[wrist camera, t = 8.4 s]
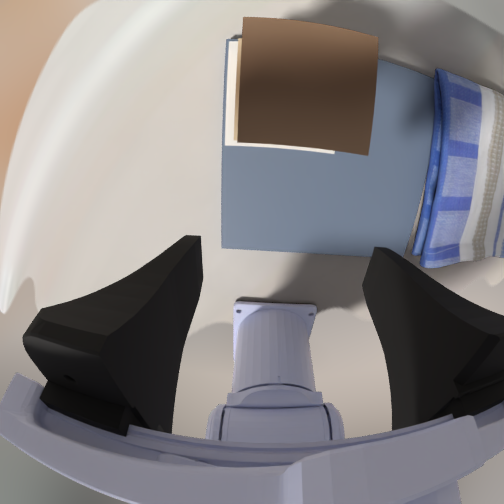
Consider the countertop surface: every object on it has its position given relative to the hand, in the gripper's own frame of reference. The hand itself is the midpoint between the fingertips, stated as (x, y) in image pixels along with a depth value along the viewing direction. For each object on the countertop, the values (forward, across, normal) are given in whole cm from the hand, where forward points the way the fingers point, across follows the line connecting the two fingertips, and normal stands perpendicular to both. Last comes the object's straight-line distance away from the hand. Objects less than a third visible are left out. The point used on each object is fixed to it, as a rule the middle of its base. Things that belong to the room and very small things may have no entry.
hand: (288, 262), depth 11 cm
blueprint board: (+10, -4, -3) cm, 11 cm away
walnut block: (+5, 0, -7) cm, 8 cm away
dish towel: (+10, -23, -4) cm, 26 cm away
